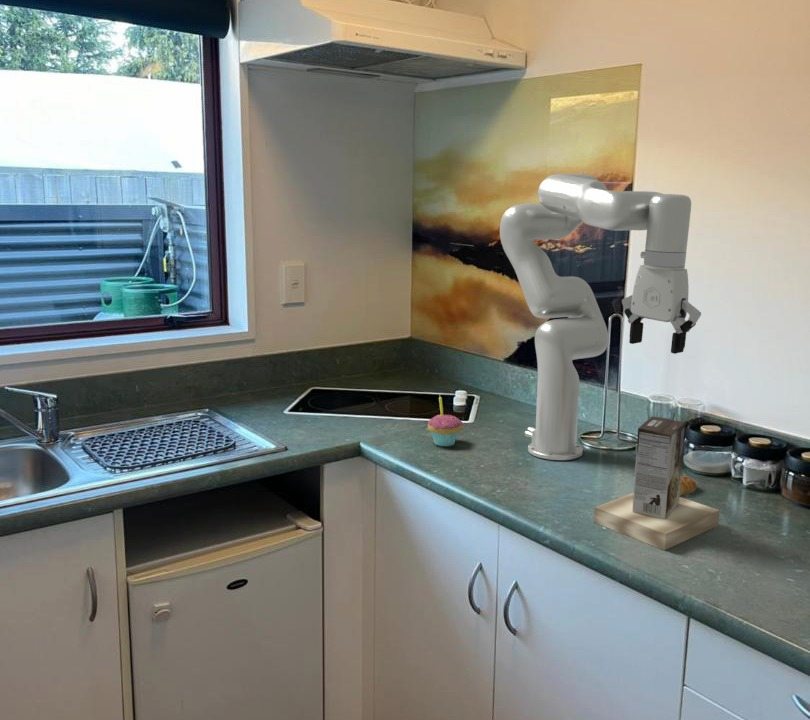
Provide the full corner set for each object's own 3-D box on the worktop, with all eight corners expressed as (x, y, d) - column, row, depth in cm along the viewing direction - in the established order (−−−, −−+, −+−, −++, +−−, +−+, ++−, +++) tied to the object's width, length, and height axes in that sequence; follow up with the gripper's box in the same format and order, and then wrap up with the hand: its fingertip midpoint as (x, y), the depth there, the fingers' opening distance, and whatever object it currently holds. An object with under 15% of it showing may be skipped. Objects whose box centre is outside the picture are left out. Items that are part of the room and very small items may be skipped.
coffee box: (645, 496, 153) (651, 415, 150) (680, 504, 149) (686, 421, 146) (630, 512, 145) (636, 427, 142) (666, 520, 142) (673, 433, 139)
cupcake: (420, 443, 194) (420, 395, 192) (443, 435, 200) (444, 389, 198) (446, 451, 188) (447, 402, 186) (469, 443, 194) (471, 395, 192)
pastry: (682, 483, 169) (683, 466, 168) (704, 494, 163) (706, 476, 162) (645, 488, 166) (646, 471, 165) (666, 500, 160) (668, 482, 159)
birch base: (593, 522, 148) (594, 507, 148) (648, 500, 159) (649, 486, 158) (664, 550, 137) (665, 534, 136) (718, 525, 147) (719, 510, 147)
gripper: (615, 256, 157) (608, 341, 161) (692, 266, 144) (682, 359, 148) (639, 254, 161) (631, 337, 165) (716, 264, 148) (706, 354, 152)
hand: (655, 347), depth 157 cm, fingers open, 9 cm apart
